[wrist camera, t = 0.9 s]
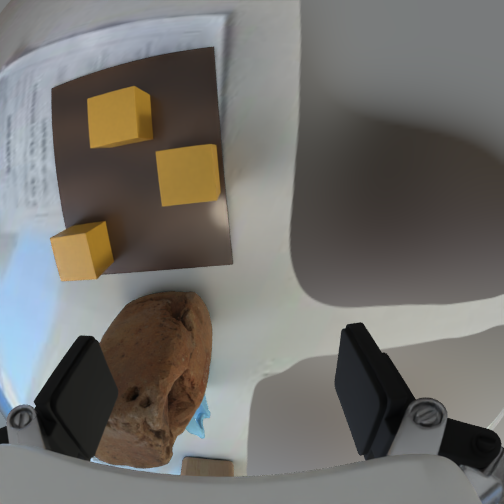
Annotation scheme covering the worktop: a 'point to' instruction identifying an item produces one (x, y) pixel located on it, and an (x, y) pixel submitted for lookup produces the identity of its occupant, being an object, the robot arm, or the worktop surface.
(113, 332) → the brown rounded lump
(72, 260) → the ochre block
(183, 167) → the ochre block
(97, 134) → the ochre block
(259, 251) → the worktop surface
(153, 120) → the mat
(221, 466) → the wooden block
